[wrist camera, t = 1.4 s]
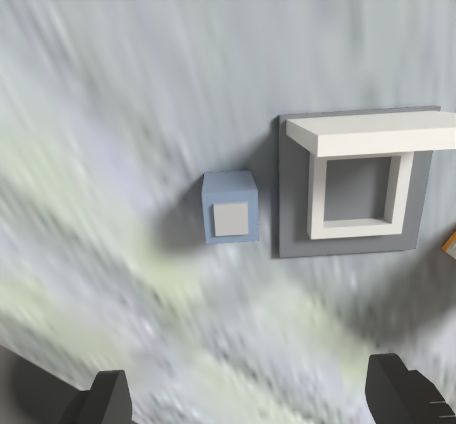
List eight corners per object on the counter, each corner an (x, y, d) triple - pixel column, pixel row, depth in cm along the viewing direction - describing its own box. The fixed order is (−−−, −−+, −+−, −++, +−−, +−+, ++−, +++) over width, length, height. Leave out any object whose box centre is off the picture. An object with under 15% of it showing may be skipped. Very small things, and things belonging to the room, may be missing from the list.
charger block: (204, 172, 29) (201, 195, 23) (249, 169, 29) (258, 191, 23) (208, 214, 30) (205, 246, 24) (251, 212, 30) (259, 243, 24)
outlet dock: (278, 115, 27) (309, 130, 18) (434, 105, 27) (545, 116, 18) (278, 253, 32) (302, 321, 23) (410, 245, 32) (488, 309, 23)
